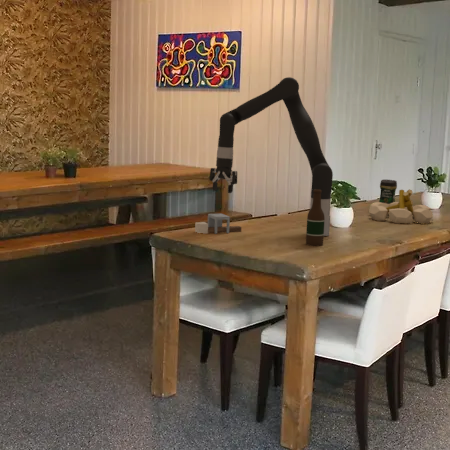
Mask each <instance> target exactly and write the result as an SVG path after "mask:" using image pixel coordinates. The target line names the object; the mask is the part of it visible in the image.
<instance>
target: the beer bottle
mask: <svg viewBox="0 0 450 450" xmlns="http://www.w3.org/2000/svg"><path fill="white" fill-rule="evenodd" d="M313 192H314V195H313V204H312V208H311V209H310V208H309V210H308V213H307V218H306V232H305V233H306V234H305V244H306V245H308V246H310V247H314V246H315V247H321V246H324V237H325V236H324V221H325V218H324V213H323V211H322V209H321V193H322V191H321V190H320V189H314V191H313Z"/></svg>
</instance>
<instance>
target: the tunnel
mask: <svg viewBox="0 0 450 450" xmlns="http://www.w3.org/2000/svg"><path fill="white" fill-rule="evenodd" d="M224 220H226V226H227V229H226V232H225V233H226V234H230V232H229V226H230V223H231V222H230V221H231V216H229V215H226V214H224V213H221V212H220V213H208V214H207V224H208V227H215V229H214V233H213V234H218V233H217V227H223V221H224Z"/></svg>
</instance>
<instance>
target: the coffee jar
mask: <svg viewBox="0 0 450 450" xmlns="http://www.w3.org/2000/svg"><path fill="white" fill-rule="evenodd" d="M379 183H380V184H379V188H380V194H379V195H380V196H379V199H378V200H379V201H378V202H381V203H386V204H391V203H393V202H396V190H397V189H398V182H397V180H392V179H381V180H380V182H379Z"/></svg>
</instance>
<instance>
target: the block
mask: <svg viewBox="0 0 450 450" xmlns="http://www.w3.org/2000/svg"><path fill="white" fill-rule="evenodd" d="M194 230H195V231H194V233H196V232H197V233H196V234H198V233H203V234H209V233H208V222H206V221H200V222H196V221H195V224H194Z"/></svg>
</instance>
